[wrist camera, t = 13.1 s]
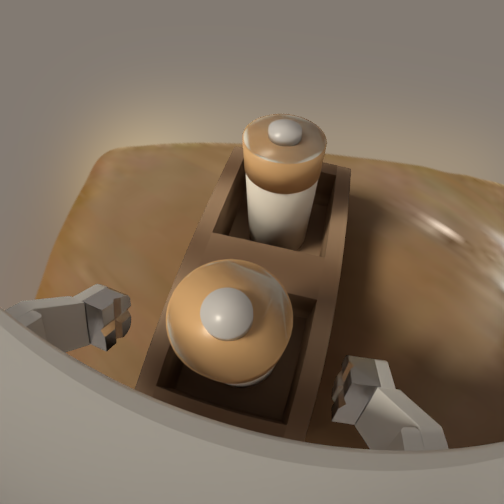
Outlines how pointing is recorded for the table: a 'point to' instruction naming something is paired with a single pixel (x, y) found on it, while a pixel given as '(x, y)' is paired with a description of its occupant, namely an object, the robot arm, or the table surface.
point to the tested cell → (230, 322)
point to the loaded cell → (281, 177)
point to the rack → (300, 294)
